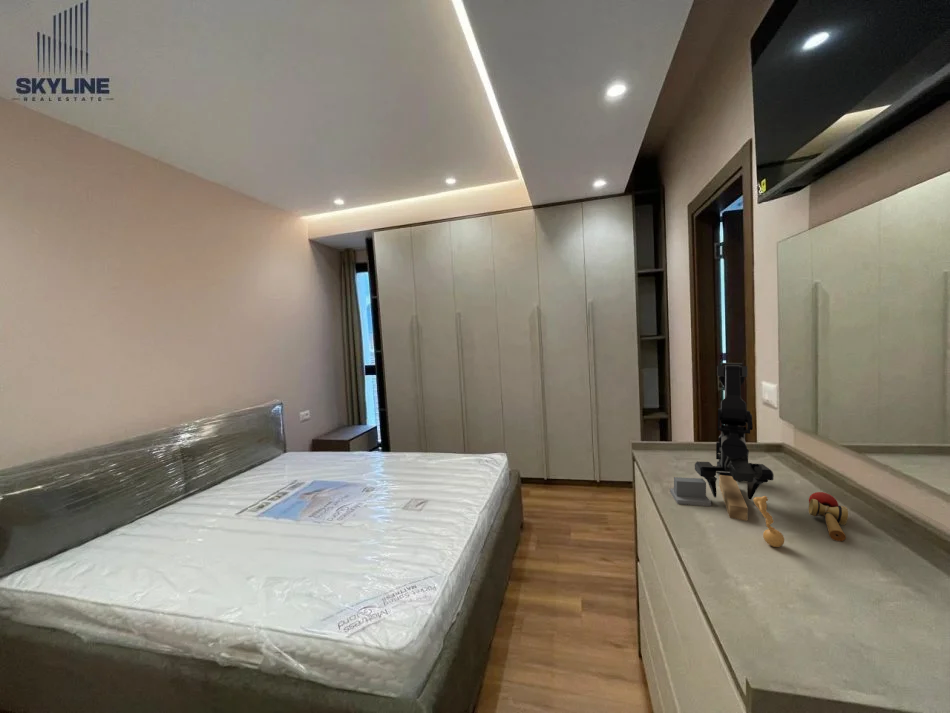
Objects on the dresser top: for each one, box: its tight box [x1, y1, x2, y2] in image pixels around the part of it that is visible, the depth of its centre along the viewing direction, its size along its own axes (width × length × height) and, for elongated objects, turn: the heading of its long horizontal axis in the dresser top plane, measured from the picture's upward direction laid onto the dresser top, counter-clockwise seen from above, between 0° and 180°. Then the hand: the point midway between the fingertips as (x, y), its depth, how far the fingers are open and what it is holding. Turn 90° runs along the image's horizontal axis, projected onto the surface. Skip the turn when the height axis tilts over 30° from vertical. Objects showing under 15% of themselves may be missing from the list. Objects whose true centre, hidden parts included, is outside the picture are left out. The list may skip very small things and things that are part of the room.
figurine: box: [752, 495, 785, 548], centre depth 88 cm, size 8×6×12 cm
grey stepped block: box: [669, 476, 712, 507], centre depth 112 cm, size 9×8×6 cm
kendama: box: [808, 491, 849, 542], centre depth 96 cm, size 8×6×18 cm
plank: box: [718, 474, 749, 522], centre depth 109 cm, size 4×22×4 cm, turn 152°
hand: (732, 498), depth 109 cm, fingers open, 9 cm apart
